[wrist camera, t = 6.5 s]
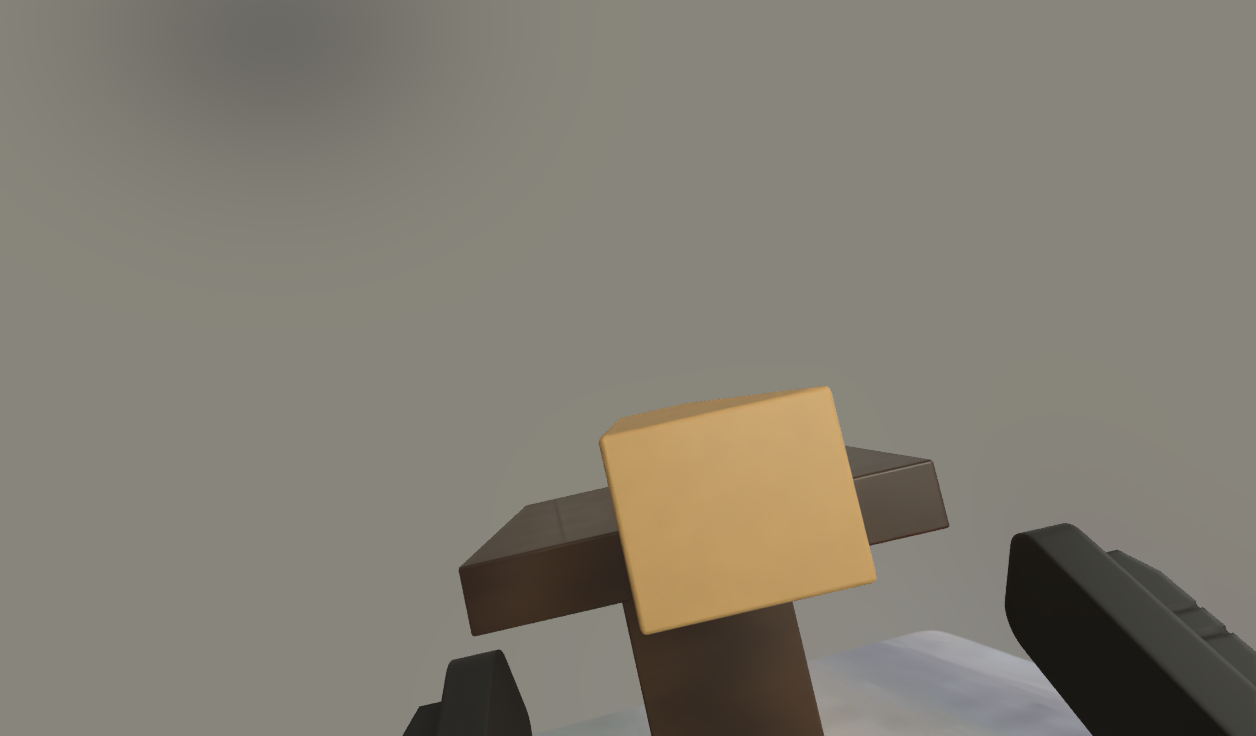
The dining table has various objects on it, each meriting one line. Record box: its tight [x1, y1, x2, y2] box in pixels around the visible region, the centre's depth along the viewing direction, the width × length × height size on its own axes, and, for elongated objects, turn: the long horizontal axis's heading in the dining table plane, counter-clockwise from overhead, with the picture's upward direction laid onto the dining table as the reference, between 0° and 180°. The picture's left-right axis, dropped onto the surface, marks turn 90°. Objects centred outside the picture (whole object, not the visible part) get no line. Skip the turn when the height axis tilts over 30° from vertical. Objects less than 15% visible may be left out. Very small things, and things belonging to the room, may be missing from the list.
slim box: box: [599, 386, 876, 635], centre depth 21 cm, size 4×24×3 cm, turn 179°
